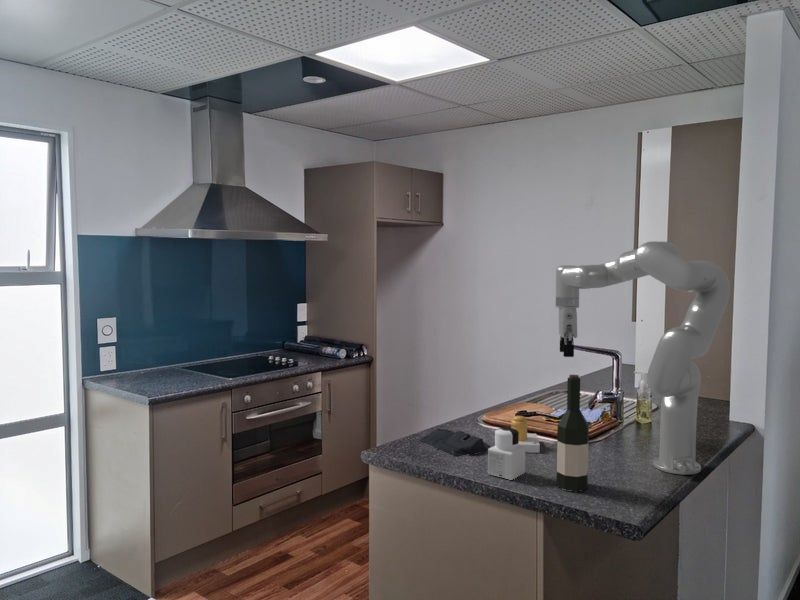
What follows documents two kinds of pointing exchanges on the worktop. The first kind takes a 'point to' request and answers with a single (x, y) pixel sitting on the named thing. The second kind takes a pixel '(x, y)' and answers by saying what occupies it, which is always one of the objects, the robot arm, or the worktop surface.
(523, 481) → the worktop surface
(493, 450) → the container
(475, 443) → the black folded cloth
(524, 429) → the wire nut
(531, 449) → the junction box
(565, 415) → the wine bottle
